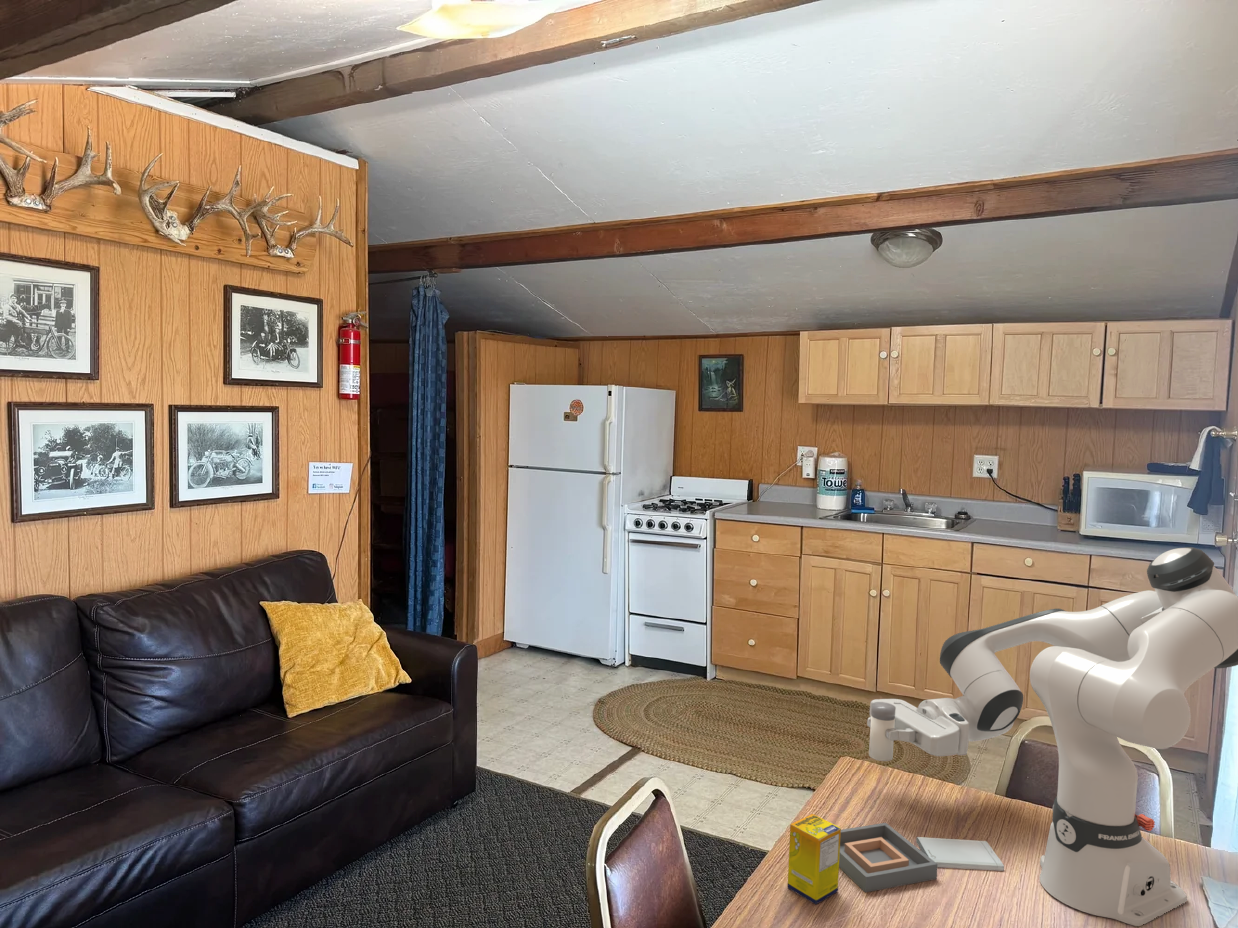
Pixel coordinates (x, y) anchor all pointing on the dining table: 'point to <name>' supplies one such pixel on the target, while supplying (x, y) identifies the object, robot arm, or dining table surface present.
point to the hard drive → (960, 853)
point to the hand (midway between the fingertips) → (878, 729)
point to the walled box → (882, 858)
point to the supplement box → (814, 858)
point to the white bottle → (881, 731)
